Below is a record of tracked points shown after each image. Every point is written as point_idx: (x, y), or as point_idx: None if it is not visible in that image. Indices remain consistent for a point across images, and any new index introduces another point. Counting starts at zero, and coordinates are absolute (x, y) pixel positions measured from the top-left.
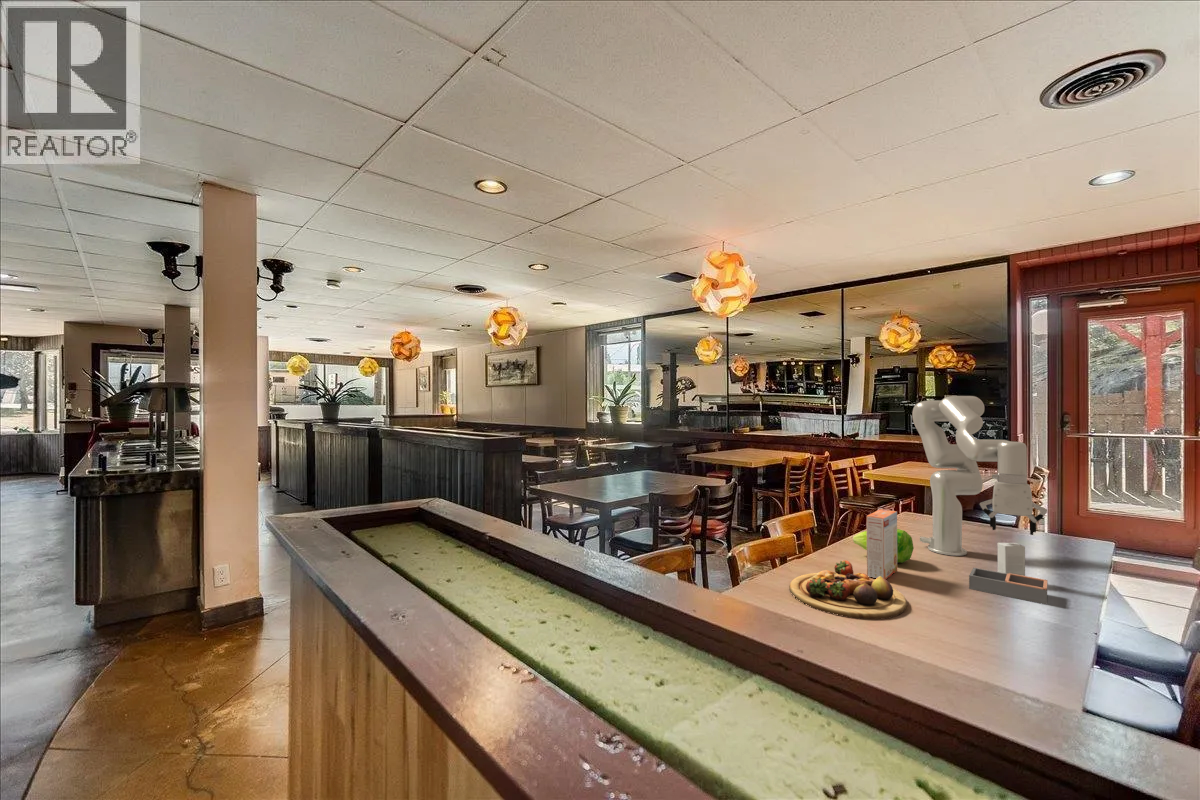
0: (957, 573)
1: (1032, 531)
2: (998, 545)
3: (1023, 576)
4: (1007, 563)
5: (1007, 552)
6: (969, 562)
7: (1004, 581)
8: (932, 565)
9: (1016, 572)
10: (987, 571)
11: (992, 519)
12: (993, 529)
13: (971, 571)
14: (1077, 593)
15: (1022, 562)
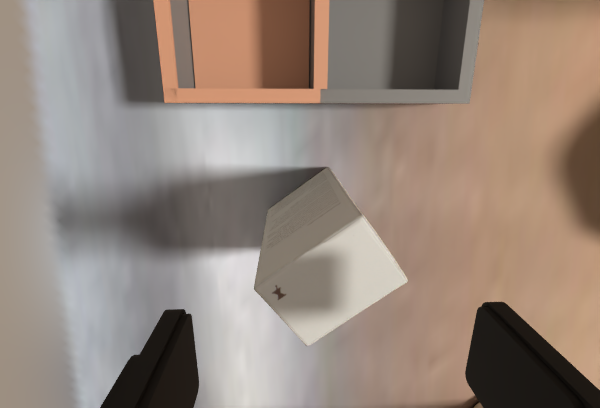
0: (494, 163)
1: (157, 331)
2: (397, 263)
3: (259, 89)
4: (333, 190)
5: (342, 208)
6: (448, 347)
7: None
8: (581, 212)
9: (295, 202)
10: (408, 89)
11: (597, 390)
12: (495, 302)
13: (482, 7)
14: (108, 207)
15: (271, 235)
